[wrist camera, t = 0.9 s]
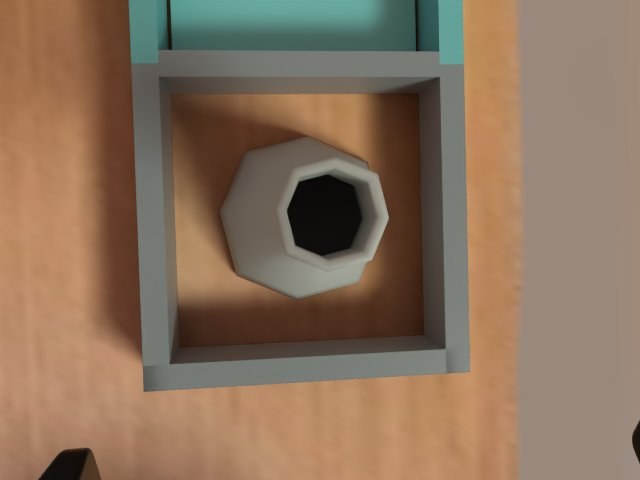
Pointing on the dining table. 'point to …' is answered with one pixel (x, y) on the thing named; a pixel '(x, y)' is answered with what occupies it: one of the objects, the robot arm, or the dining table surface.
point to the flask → (303, 217)
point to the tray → (302, 78)
